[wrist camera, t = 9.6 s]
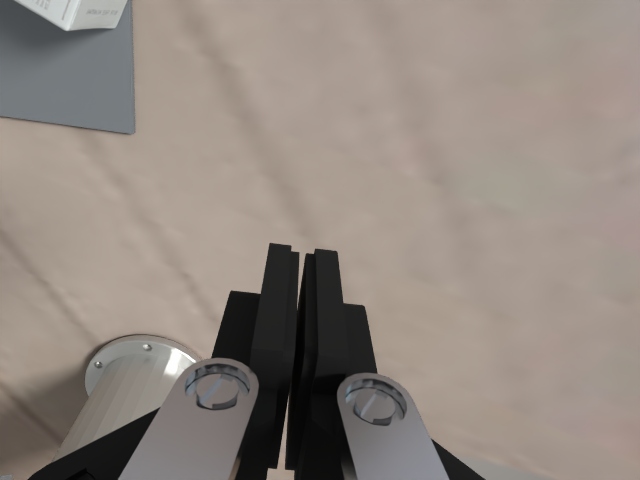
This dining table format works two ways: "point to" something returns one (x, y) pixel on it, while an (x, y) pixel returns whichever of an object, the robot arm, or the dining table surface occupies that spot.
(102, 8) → the supplement box
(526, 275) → the dining table surface
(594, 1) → the dining table surface
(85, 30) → the charcoal mat
